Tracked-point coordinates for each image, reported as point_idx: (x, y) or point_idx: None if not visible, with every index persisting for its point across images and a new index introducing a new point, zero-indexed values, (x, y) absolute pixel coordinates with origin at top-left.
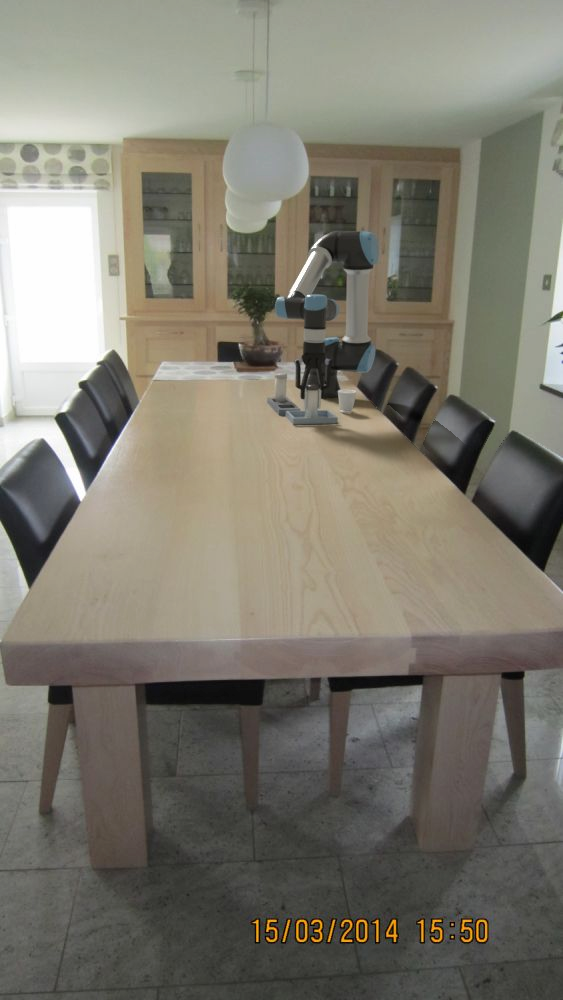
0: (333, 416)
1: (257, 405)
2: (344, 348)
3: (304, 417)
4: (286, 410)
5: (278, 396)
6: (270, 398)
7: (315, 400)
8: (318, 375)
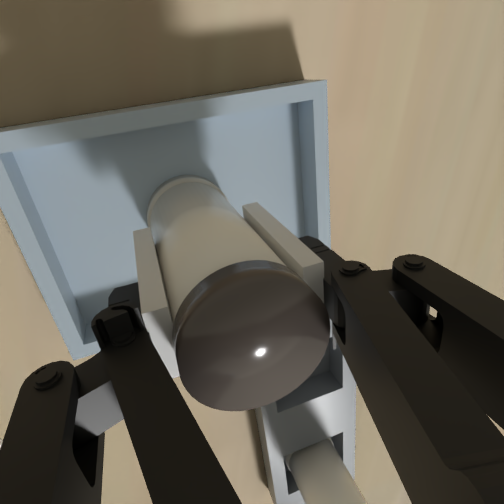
0: (18, 194)
1: (376, 430)
2: None
3: None
4: None
5: (337, 465)
6: None
7: (189, 231)
8: (228, 488)
